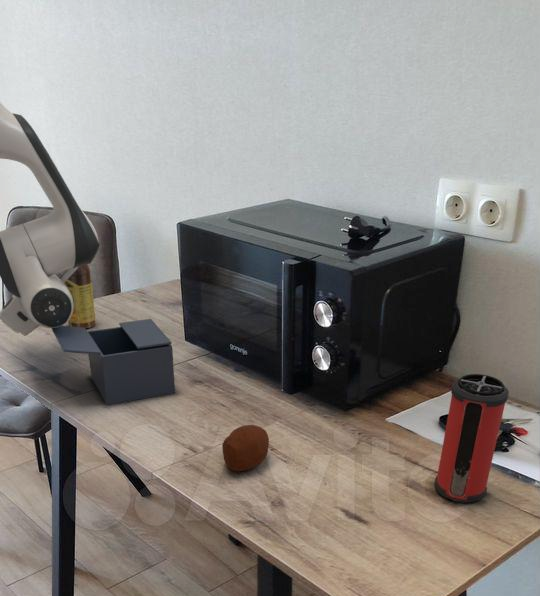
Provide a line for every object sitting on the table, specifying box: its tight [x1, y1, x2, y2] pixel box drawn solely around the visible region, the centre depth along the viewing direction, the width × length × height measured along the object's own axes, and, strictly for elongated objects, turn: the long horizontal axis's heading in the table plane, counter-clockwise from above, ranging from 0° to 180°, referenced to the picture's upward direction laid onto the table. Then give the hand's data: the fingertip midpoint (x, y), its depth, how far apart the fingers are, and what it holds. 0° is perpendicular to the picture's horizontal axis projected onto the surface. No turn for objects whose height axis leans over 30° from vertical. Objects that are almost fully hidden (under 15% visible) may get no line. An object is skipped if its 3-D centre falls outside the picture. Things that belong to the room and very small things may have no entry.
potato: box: [221, 424, 270, 472], centre depth 111 cm, size 7×9×6 cm
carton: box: [87, 318, 176, 406], centre depth 133 cm, size 13×13×10 cm
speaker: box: [434, 373, 510, 504], centre depth 103 cm, size 8×8×18 cm
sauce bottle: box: [64, 264, 96, 330], centre depth 156 cm, size 7×6×20 cm
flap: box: [50, 325, 101, 355], centre depth 127 cm, size 6×13×1 cm, turn 25°
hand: (36, 283), depth 147 cm, fingers open, 8 cm apart
